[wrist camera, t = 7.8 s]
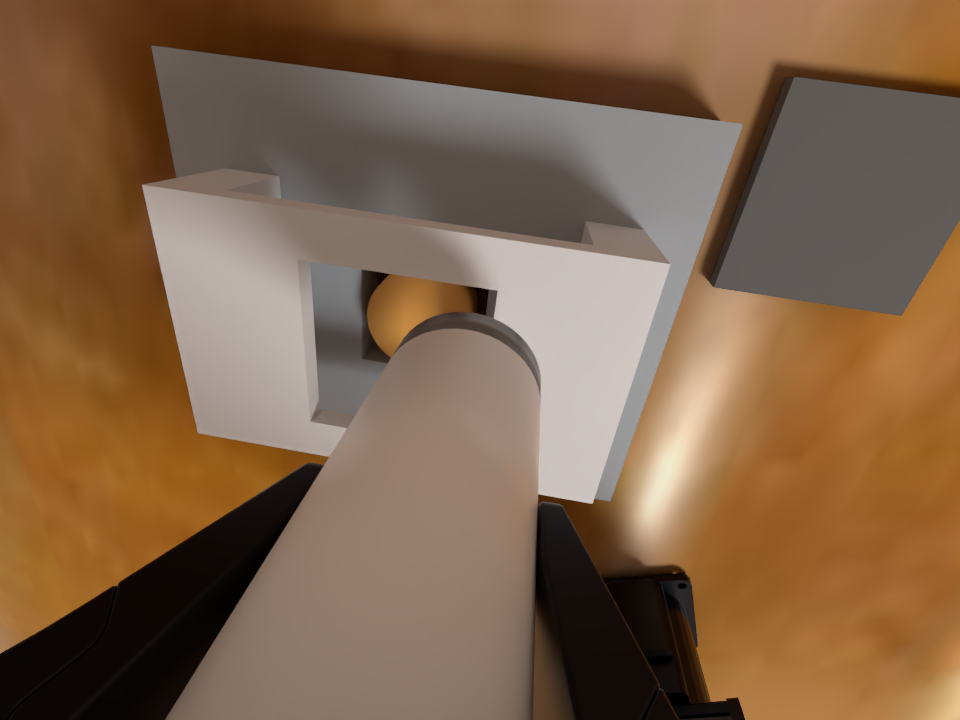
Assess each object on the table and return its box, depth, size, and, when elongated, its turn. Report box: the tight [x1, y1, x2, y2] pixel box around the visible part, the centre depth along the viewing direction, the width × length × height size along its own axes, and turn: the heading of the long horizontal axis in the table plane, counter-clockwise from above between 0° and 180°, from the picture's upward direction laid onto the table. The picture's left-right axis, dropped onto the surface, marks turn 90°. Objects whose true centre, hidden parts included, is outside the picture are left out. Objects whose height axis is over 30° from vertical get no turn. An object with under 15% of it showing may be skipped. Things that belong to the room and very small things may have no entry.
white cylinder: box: [165, 312, 541, 720], centre depth 8 cm, size 4×4×11 cm
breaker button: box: [367, 274, 478, 357], centre depth 19 cm, size 4×4×2 cm
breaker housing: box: [142, 45, 743, 504], centre depth 18 cm, size 16×19×6 cm
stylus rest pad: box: [709, 77, 960, 316], centre depth 16 cm, size 7×7×1 cm
